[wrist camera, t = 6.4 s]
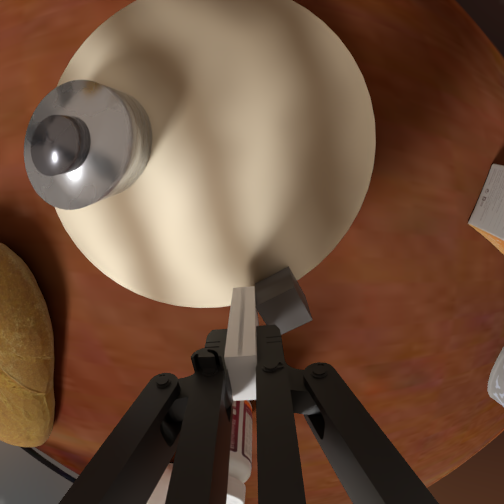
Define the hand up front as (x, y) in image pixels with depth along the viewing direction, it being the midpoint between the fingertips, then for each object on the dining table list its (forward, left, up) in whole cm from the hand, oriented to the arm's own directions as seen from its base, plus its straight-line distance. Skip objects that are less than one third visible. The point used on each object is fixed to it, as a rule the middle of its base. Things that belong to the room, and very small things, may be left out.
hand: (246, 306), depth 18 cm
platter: (-2, +10, -3) cm, 10 cm away
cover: (-8, +11, -1) cm, 14 cm away
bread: (-32, -8, -5) cm, 33 cm away
